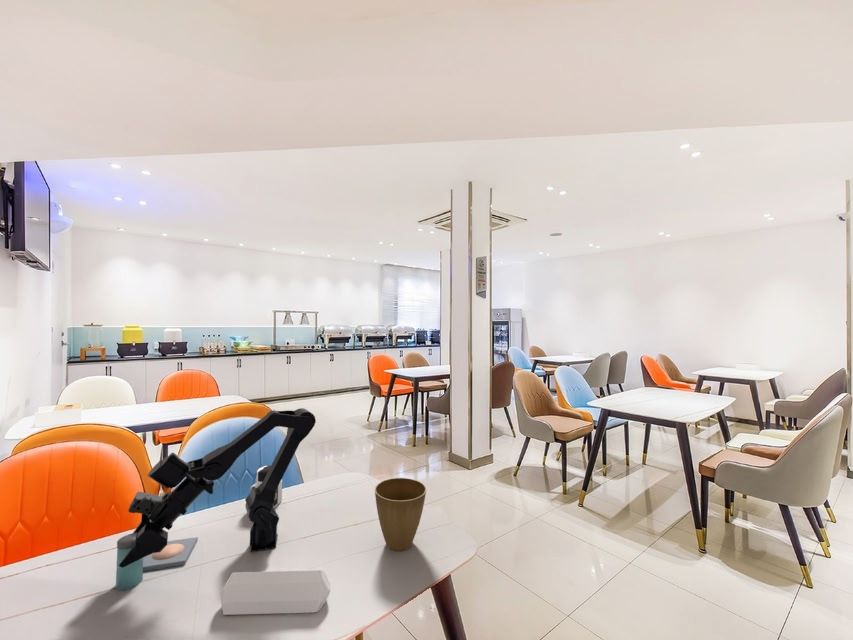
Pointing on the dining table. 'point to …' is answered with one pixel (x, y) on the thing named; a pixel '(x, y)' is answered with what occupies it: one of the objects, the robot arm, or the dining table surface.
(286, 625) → the dining table surface
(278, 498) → the container
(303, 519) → the dining table surface
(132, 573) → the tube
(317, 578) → the white hexagonal prism
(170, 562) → the card
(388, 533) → the plant pot
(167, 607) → the dining table surface
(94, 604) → the dining table surface
